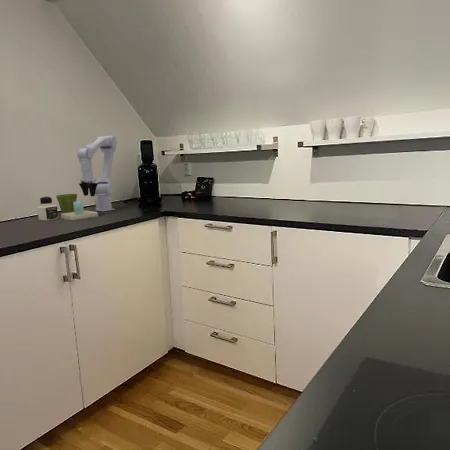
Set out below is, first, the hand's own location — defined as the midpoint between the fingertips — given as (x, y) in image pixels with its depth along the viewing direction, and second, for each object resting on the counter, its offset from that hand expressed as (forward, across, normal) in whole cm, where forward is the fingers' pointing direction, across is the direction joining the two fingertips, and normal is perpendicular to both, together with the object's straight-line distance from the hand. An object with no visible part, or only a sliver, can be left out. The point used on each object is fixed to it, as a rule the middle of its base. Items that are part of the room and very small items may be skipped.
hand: (89, 195), depth 244 cm
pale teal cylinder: (+10, +4, -9) cm, 14 cm away
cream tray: (+10, +4, -9) cm, 14 cm away
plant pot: (+11, -13, -7) cm, 18 cm away
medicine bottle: (+11, -7, -21) cm, 24 cm away
